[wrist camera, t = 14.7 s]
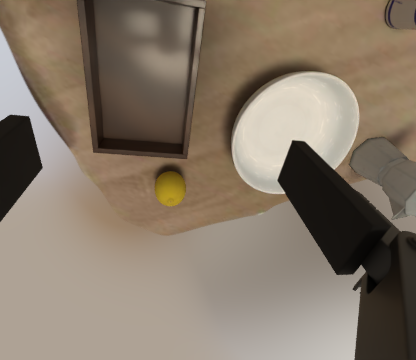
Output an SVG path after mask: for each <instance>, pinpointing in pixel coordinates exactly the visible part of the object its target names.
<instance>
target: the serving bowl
mask: <svg viewBox="0 0 416 360" xmlns="http://www.w3.org/2000/svg"><path fill="white" fill-rule="evenodd" d="M358 125H359V107H358V103H357V100H356V97H355V95H354V93H353V91H352V90H351V88H350V87H349V86H348V85H347V84H346V83H345V82H344V81H342V80H341V79H339V78H338V77H336V76H334V75H331V74H328V73H324V72H316V71H300V72H294V73H289V74H286V75H283V76H280V77H278V78H275V79H273V80H271V81H270V82H268V83H266V84H265V85H263V86H262V87H261V88H259V89H258V90H257V91H256V92H255V93H254V94H253V95H252V96H251V97H250V98H249V99H248V100H247V102H246V103H245V104H244V106H243V107H242V109H241V110H240V112H239V114H238V116H237V118H236V121H235V123H234V127H233V131H232V136H231V152H232V158H233V162H234V165H235V168H236V170H237V172H238V173H239V175H240V177H241V178H242V179H243V180H244V181H245V182H246V183H247V184H248V185H250V186H251V187H253V188H255V189H257V190H259V191H262V192H265V193H271V194H285V192H284V190H283V189H282V187H281V186H280V184H279V183H278V181H277V179H278V177H279V174H280V171H281V169H282V166H283V163H284V161H285V158H286V156H287V153H288V150H289V148H290V145H291V142H292V140H297V141H305V142H306V143H307V144H308V145H309V146H310V147H311V148H312V149H313V150H314V151H315V152H316V153H317V154H318V155H319V156H320V157H321V158H322V159H323V160H324V161H325V162H326V163H327V164H328V165H330V166H331V167H332V168H333V169H334V170H335V169H336V168H337V166H338V165H339V164H340V163H341V162H342V161H343V159H344V158H345V157H346V155H347V154H348V152H349V150H350V148H351V146H352V144H353V142H354V140H355V137H356V134H357V130H358Z"/></svg>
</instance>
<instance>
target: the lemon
mask: <svg viewBox="0 0 416 360" xmlns="http://www.w3.org/2000/svg"><path fill="white" fill-rule="evenodd" d="M185 192H186V184H185V181H184V179H183V178H182V176H181V175H180V174H178V173H176V172H173V171H168V172H164V173H162V174H161V175H160V176H159V177H158V178H157V180H156V183H155V194H156V197H157V199H158V200H159V202H161V203H162V204H163V205H166V206H175V205H177V204H179V203H180V202H181V201H182V200H183V198H184V196H185Z"/></svg>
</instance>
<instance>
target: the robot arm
mask: <svg viewBox="0 0 416 360" xmlns="http://www.w3.org/2000/svg"><path fill="white" fill-rule="evenodd" d="M41 169H42V163H41V160H40V156H39V152H38V148H37V145H36V141H35V137H34V133H33V129H32V125H31V122H30V118H29V116H18V115H9V116H7V117H6V118H5V119H3V120H1V121H0V222H1V220H2V219H3V218H4V217H5V215H6V214H7V213H8V211H9V210H10V209H11V208H12V206H13V205H14V204H15V203H16V201H17V200H18V198H19V197H20V196H21V195H22V193H23V192H24V191H25V190H26V188H27V187H28V186H29V184H30V183H31V182H32V181H33V179H34V178H35V177H36V176H37V174H38V173H39V172H40V171H41ZM277 181H278V183H279V184H280V186H281V187H282V189H283V190H284V192H285V194H286V195H287V197H288V198H289V200H290V202H291V203H292V205H293V206H294V208H295V209H296V211H297V213H298V214H299V216H300V217H301V219H302V220H303V222H304V224H305V225H306V227H307V228H308V230H309V232H310V233H311V235H312V236H313V238H314V240H315V241H316V243H317V244H318V246H319V247H320V249H321V251H322V252H323V254H324V255H325V257H326V258H327V260H328V262H329V263H330V265H331V266H332V268H333V270H334V271H335V273H336V274H337V275H348V274H354V273H355V271H356V270H357V269H358V268H359V266H360V265H362V266H363V268H364V269H365V270H366V273H365V274H364V275H363V276H362V277H361V278H360V280H359V281H358V282H357V283H356V285H355V286H354V288H353V290H355V291H356V290H357V289H358V287H361V292H360V305H359V316H358V327H357V338H356V349H355V360H416V234H415V233H412V232H408V231H402V232H400V231H399V230H398V229H397V228H396V227H395V226H394V225H393V224H392V223H391V222H390V221H389V220H388V219H387V218H386V217H385V216H384V215H383V214H382V213H381V212H380V211H379V210H376V208H375V207H374V206H373V205H372V204H371V203H369V201H368V200H367V199H366V198H365V197H364V196H363V195H362V194H360V193H359V192H358V191H356V190H354V189H353V188H352V187H351V186H350V185H349V184H348V183H347V182H346V181H345V180H344V179H343V178H342V177H341V176H340V175H339V174H338V173H337V172H336V171H335V170H334V169H333V168H332V167H331V166H330V165H328V164H327V163H326V162H325V161H324V160H323V159H322V158H321V157H320V156H319V155H318V154H317V153H316V152H315V151H314V150H313V149H312V148H311V147H310V146H309V145H308V144H307V143H306V142H305V141H297V140H292V142H291V145H290V148H289V150H288V153H287V156H286V158H285V161H284V163H283V166H282V169H281V171H280V174H279V177H278V179H277Z"/></svg>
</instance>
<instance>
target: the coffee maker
mask: <svg viewBox="0 0 416 360" xmlns="http://www.w3.org/2000/svg"><path fill="white" fill-rule="evenodd" d="M350 166H351V167H352V168H353V169H354V171H355V172H356V173H358V174H360V175H361V176H363V177H365V178H367V179H369V180H371V181H372V182H374V183H376V184H378V185H380V186H382V187H383V191H384V192H385V193H386V195H387V196H388V197H389V200H390V204H391V208H392V211H393V217H392V220H394V219H398V218H403V217H407V216H414V217H416V162H413V161H411V160H409V159H408V158H407V157H406V156H405V155H404V154H403V153H402V152H400V151H399V150H398V149H397V148H396V147H395V146H394V145H392V144H391V143H390V142H389V141H388V140H387V139H385V138H384V137H379V138H371V139H367V140H366V141H365V142H364V143H362V144H361V145H360V146H359V147H358V148H356V149H355V150H354V151H353V154H352V158H351V161H350Z"/></svg>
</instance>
